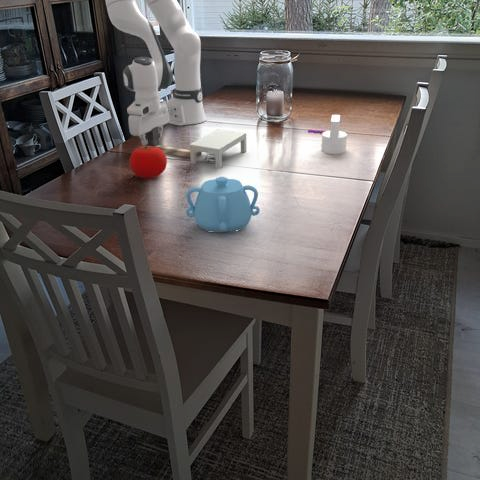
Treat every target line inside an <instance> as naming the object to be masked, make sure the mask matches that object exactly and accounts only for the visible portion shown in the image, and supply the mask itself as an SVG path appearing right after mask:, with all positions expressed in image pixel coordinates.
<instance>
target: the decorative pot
mask: <svg viewBox="0 0 480 480" xmlns="http://www.w3.org/2000/svg"><path fill="white" fill-rule="evenodd" d="M247 191H251V192H253V199H252V201H250V199H249V196H248V195H249V194H248V193H247ZM194 192H195V193H196V192H198V193H197V196H196V199H195V203H193V201H192V198H191V194H192V193H194ZM258 197H259V192H258V190H257V188H255V187H254V186H252V185H249V184H248V185H247V184H246V185H243V184H242V181H240V180H238V179H234V178H228V177H225V176H218V177H216V178H215V179H209V180H206V181H204V182H203V183H202V185H201V187H200V186H199V187H198V186H195V187H191V188H190V189H188V190H187V192H186V197H185V198H186V201H187V203H188V206H189V207H188V208H187V209H186V210H185V213H186V214H185V215H186V216H187V217H189V218H194V220H195V222H196V224H197V225H198V226H199V228H201V229H202V230H204V231H206V232H207V231H214V232H213V233H215V232H216V233H217V232H218V233H224V232H225V233H227V232H233V231H236V230H239V229H240V230H242V229H244V228H246V226H247V225H248V224H249V223H250V221H251V218H252V217H253V216H258V215H259V214H260V212H261V211H260V207H259V206H257V205H256V203H257V200H258V199H259V198H258ZM254 210H256V211H254ZM190 211H192V212H190ZM240 230H239V231H240Z"/></svg>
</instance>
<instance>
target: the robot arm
mask: <svg viewBox="0 0 480 480" xmlns="http://www.w3.org/2000/svg"><path fill="white" fill-rule="evenodd" d="M104 1H105V6H106V10H107V14H108V17H109V20H110V22H111V24H112V25H113V26H114V27H115V28H116V29H117V30H118V31H121V32H123V33H126V34H130V35H132V36H135V37H138V38H140V39H141V40H143V42H145V44H146V46H147V48H148V49H147V50H148V51H149V54H150V56H151V57H148V56H139V57H135V58H134V59H133V60H132V63H131V64H129V65H126V66H125V67H124V69H123V71H122V79H123V86H124V87H125V88H126V89H127V90H129V91H130V92H135V95H134V101H133V102H132V103H131V104H130V105H129V106H128V107H127V108H126V111H127V114H128V115H129V116H128V129H129V133H130V135H131V136H134V137H138V138H139V139H140V141H141V145H142V146H146V144H148V140H147V139H145V133H147V132H149V131H152V129H153V128H155V127H157V126H158V132H159V139H161V138H162V137H163V131H164V125H167V124H171V125H175V126H187V125H195V124H196V125H197V124H201V123H204V122H205V121H207V116H206V114H205V111H204V105H203V88H202V84H201V56H202V55H201V52H202V50H201V48H202V46H201V44H202V43H201V38H200V35H199V34H198V33H197V32H196V31H195V30H193V28H192V27H191V25H190V22H189V21H188V19H187V17H186V15H185V13H184V11H183V8H182V7H181V5H180V3H179V2H178V0H144V2H145V3H146V5H147V6H148V8H149V10H150V12H151V13H152V15H153V17H154V18H155V20H156V21H157V23H158V24H159V26H160V28H161V31H163V33H164V35H165V37H166V39H167V40H168V42H169V43H170V45H171V47H172V48H173V55H174V60H173V63H174V65H173V66H174V67H173V68H174V69H172V68H171V66H170V63H169V62H168V60H167V58H166V56H165V53H164V51H163V48H162V46H161V43H160V40H159V38H158V35H157V33H156V31H155V28H154V26H153V24H152V22H151V21H150V19H149V18H147V17H145V16H144V14H142V12H141V11H140V9H139V6H138V2H137V0H104ZM173 72H174V74H173ZM173 81H174V86H175V87H174V88H173V89H172V90H170V94H172V97H171V98H169V99H168V100H167V101H166V100H164V99H163V98H162V99H161V96H160V93H159V90H167V89H168V88H169V87H170V86H171V84H172V83H173Z"/></svg>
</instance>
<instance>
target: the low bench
mask: <svg viewBox="0 0 480 480" xmlns="http://www.w3.org/2000/svg"><path fill="white" fill-rule="evenodd" d="M239 143H240V152H242V153H246V152H247V132H244V131H235V130H227V129H223V128H222V129H220V128H216V130H214V131H211V132H210V133H207V135H204V136H203V137H200V138H198V139H196V140H195V141H193V142H191V143H190V144H189V150H190V157H189V158H190V159H189V160H190V164H191V165H193V164H194V165H195V164H197V163H198V160H197V159H198V158H197V155H196V151H199V152H202V153H206V154H210V155H215V159H216V163H215V168H216V169H222V167H223V158H222V157H223V155H222V154H223V153H226V151H228V150H229V149H231V148H232V147H234V146H236V145H237V144H239Z"/></svg>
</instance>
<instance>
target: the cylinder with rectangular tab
mask: <svg viewBox="0 0 480 480" xmlns="http://www.w3.org/2000/svg"><path fill="white" fill-rule="evenodd" d="M340 120H341V115H340V114H332V115H331V119H330V129H329V130H326V131H325V132H323V133H322V134H321V145H322V146H321V151H322V152H323V153H326V154H330V155H338V154H339V155H340V154H343V153H345V152H346V150H347V138H348V134H347V133H346V132H345V131H341V130H340V122H341V121H340Z"/></svg>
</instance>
